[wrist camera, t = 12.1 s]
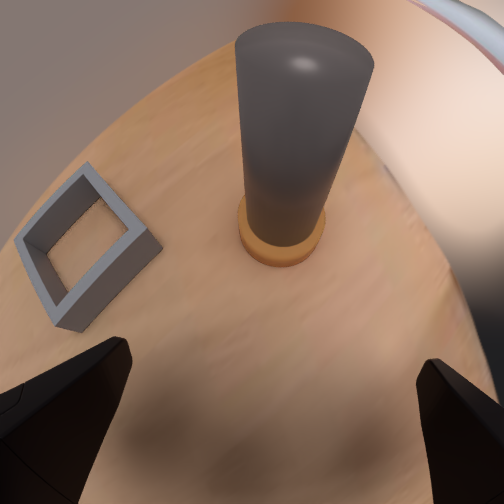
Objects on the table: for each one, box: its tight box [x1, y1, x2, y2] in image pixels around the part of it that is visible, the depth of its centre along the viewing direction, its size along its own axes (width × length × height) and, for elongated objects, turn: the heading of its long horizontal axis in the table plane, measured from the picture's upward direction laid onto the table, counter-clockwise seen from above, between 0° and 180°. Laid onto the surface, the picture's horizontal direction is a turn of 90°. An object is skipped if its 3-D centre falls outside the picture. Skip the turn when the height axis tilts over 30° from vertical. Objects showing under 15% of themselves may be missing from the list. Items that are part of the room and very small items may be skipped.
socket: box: [14, 161, 163, 333], centre depth 16 cm, size 8×8×3 cm
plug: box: [235, 22, 374, 267], centre depth 12 cm, size 5×5×12 cm
